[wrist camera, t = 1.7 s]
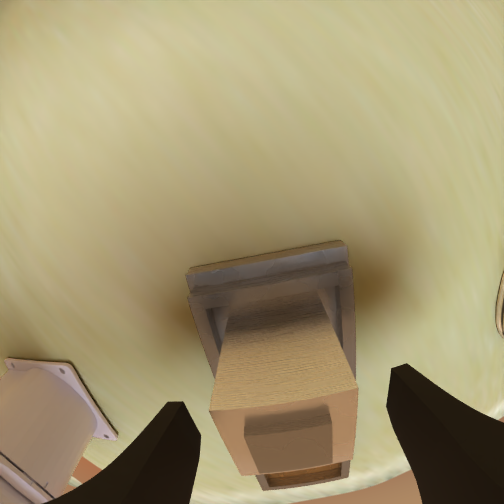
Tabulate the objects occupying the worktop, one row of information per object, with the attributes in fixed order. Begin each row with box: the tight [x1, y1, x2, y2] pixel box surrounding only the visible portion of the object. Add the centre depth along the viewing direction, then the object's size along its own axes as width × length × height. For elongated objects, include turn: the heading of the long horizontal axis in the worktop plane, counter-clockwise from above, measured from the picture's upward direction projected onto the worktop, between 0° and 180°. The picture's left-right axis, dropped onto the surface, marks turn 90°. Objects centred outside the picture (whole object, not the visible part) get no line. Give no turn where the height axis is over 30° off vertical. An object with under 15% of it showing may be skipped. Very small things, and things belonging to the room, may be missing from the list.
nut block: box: [209, 295, 358, 476], centre depth 10 cm, size 4×4×6 cm
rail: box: [186, 240, 356, 491], centre depth 14 cm, size 7×20×2 cm, turn 11°
